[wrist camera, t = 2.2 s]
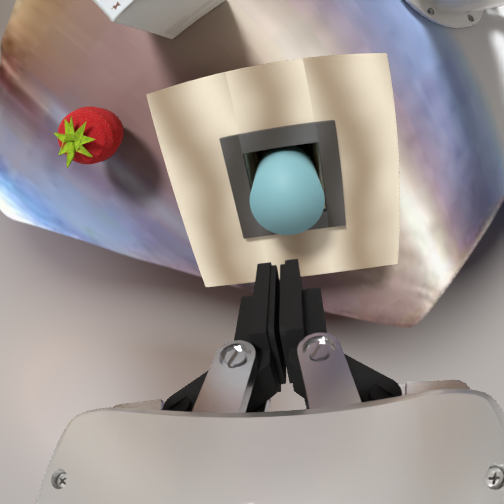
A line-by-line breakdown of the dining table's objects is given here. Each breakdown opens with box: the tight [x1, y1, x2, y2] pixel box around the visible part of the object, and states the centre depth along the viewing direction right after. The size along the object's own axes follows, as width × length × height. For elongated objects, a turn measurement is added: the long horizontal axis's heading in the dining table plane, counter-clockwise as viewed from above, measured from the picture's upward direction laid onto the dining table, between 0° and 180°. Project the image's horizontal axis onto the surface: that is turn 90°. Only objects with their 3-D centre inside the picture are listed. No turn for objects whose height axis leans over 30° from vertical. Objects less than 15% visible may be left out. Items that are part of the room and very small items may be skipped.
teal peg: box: [250, 145, 325, 235], centre depth 23 cm, size 5×5×7 cm
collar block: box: [147, 53, 400, 287], centre depth 27 cm, size 19×19×9 cm
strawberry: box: [54, 107, 124, 168], centre depth 26 cm, size 6×8×10 cm
